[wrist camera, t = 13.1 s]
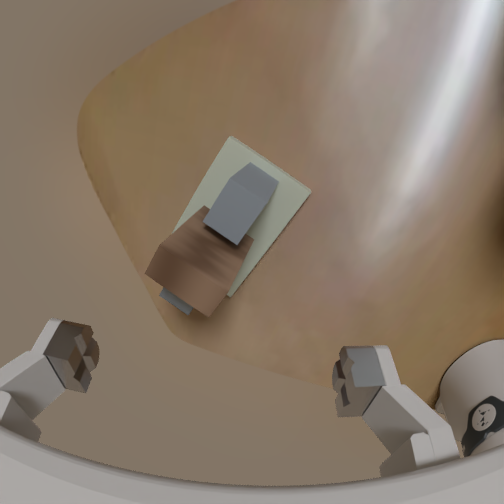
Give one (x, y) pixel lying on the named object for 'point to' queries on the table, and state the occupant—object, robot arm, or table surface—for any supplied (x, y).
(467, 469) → the robot arm
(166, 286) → the walnut slat
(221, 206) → the notched receiver
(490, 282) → the table surface
